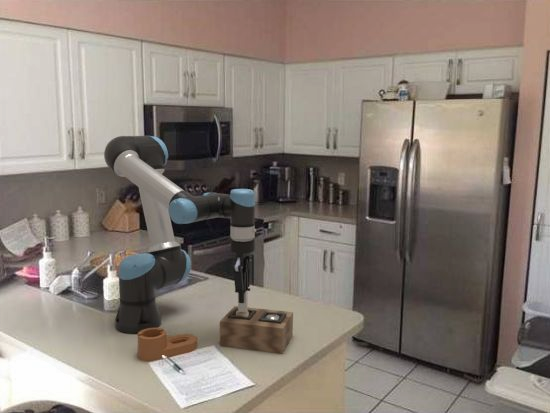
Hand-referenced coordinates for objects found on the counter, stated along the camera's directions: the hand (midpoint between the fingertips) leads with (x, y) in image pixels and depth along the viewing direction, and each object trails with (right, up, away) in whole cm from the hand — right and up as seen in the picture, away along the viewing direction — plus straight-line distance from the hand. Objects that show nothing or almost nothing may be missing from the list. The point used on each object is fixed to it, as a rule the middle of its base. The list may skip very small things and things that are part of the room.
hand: (242, 311), depth 159 cm
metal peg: (+9, -9, -1) cm, 13 cm away
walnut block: (+5, -9, 0) cm, 10 cm away
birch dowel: (0, -8, +1) cm, 8 cm away
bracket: (-22, -11, -8) cm, 26 cm away
